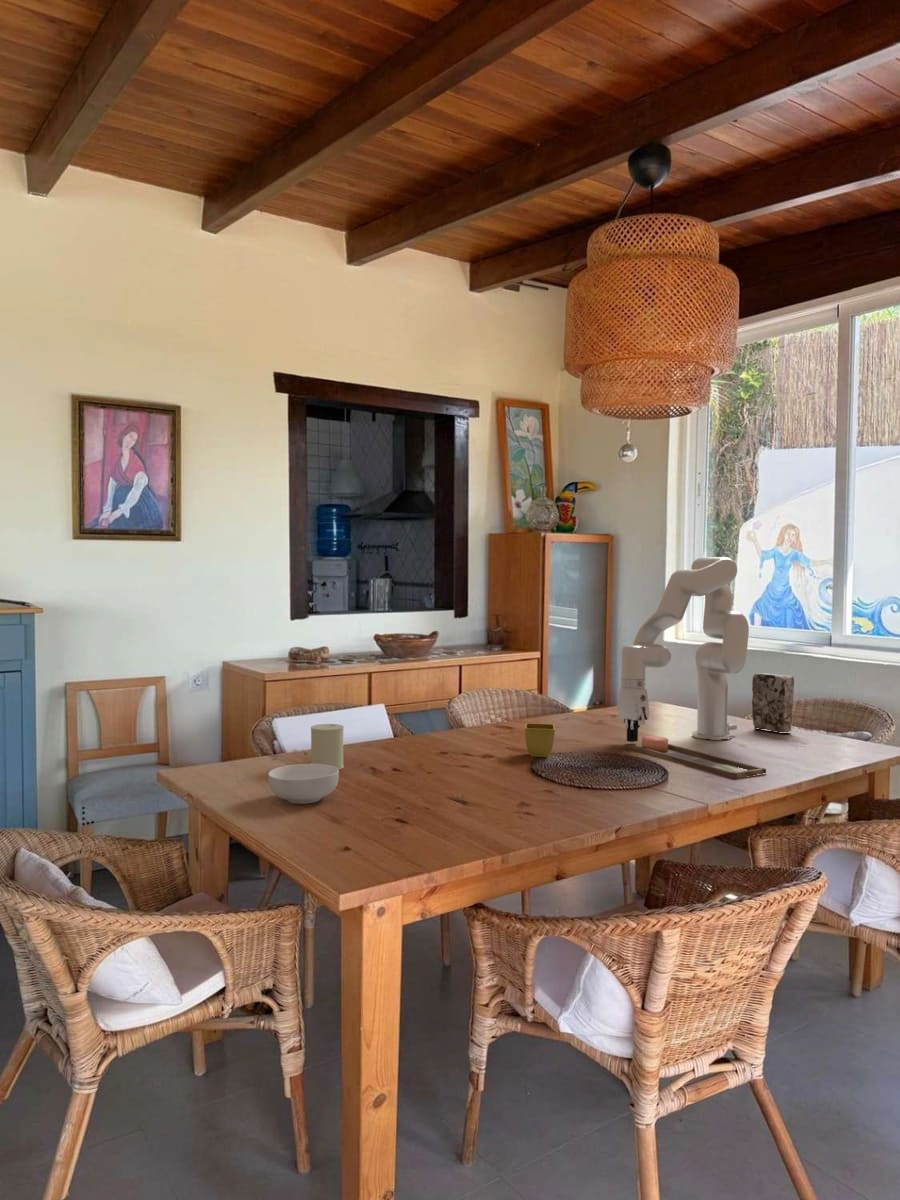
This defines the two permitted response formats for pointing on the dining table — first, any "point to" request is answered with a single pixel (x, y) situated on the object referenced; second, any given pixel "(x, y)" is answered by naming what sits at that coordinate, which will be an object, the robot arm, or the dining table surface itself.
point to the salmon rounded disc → (655, 743)
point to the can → (327, 745)
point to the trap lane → (703, 761)
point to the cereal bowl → (303, 782)
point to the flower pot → (539, 739)
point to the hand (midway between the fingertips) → (632, 741)
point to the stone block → (772, 701)
